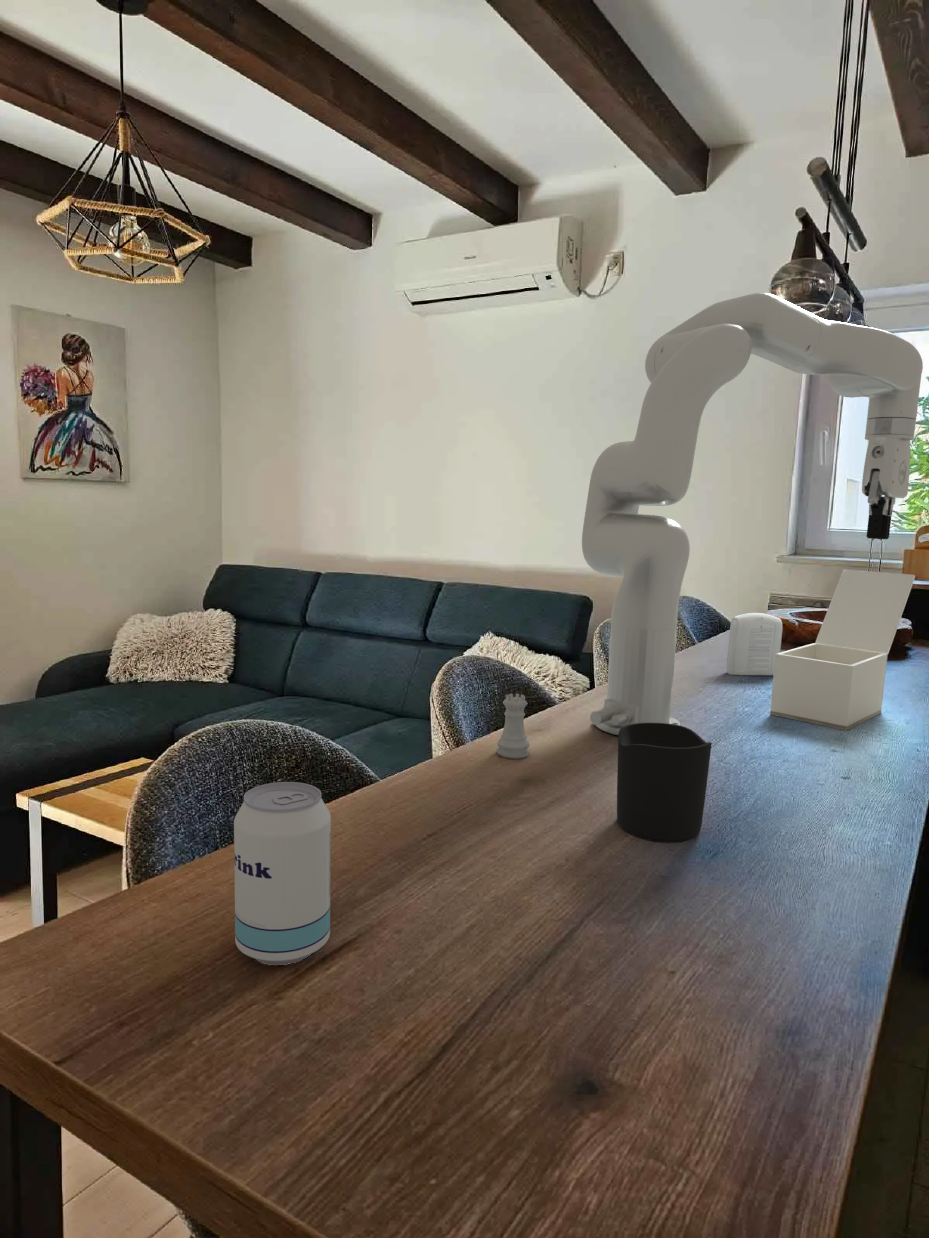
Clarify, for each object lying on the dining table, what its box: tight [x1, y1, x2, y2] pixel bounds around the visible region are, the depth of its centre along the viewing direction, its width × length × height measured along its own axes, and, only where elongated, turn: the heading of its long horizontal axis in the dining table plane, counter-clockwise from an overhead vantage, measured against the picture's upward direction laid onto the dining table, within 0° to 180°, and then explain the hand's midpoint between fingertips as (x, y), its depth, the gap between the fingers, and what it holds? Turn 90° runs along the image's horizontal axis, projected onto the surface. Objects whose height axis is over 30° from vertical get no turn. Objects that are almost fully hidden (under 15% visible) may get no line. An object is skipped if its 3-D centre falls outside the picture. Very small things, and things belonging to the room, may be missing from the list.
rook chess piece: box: [495, 693, 531, 760], centre depth 110 cm, size 4×4×8 cm
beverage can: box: [233, 781, 332, 965], centre depth 62 cm, size 7×7×12 cm
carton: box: [770, 642, 889, 731], centre depth 137 cm, size 16×12×10 cm
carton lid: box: [815, 568, 916, 655], centre depth 145 cm, size 16×12×1 cm
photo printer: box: [726, 612, 784, 677], centre depth 166 cm, size 10×4×12 cm, turn 98°
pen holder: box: [616, 723, 713, 843], centre depth 87 cm, size 9×9×10 cm
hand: (877, 538), depth 145 cm, fingers closed
